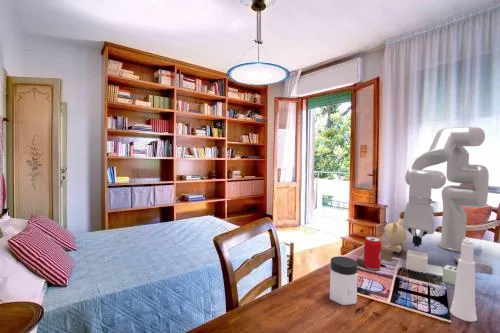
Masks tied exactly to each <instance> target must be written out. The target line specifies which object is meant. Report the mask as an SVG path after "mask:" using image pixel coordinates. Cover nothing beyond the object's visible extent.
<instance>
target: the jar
mask: <svg viewBox="0 0 500 333" xmlns="http://www.w3.org/2000/svg"><path fill="white" fill-rule="evenodd" d="M358 268H359V264H358V262H357V261H356V260H355V259H353V258H351V257H349V256H348V257H346V256H339V255H338V256H334V257H332V258H330V275H329V277H330V278H329V300H330V301H333V302H335V303H337V304H340V305H341V306H349V305H356V304H357V296H358V295H357V294H358V270H359V269H358Z"/></svg>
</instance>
